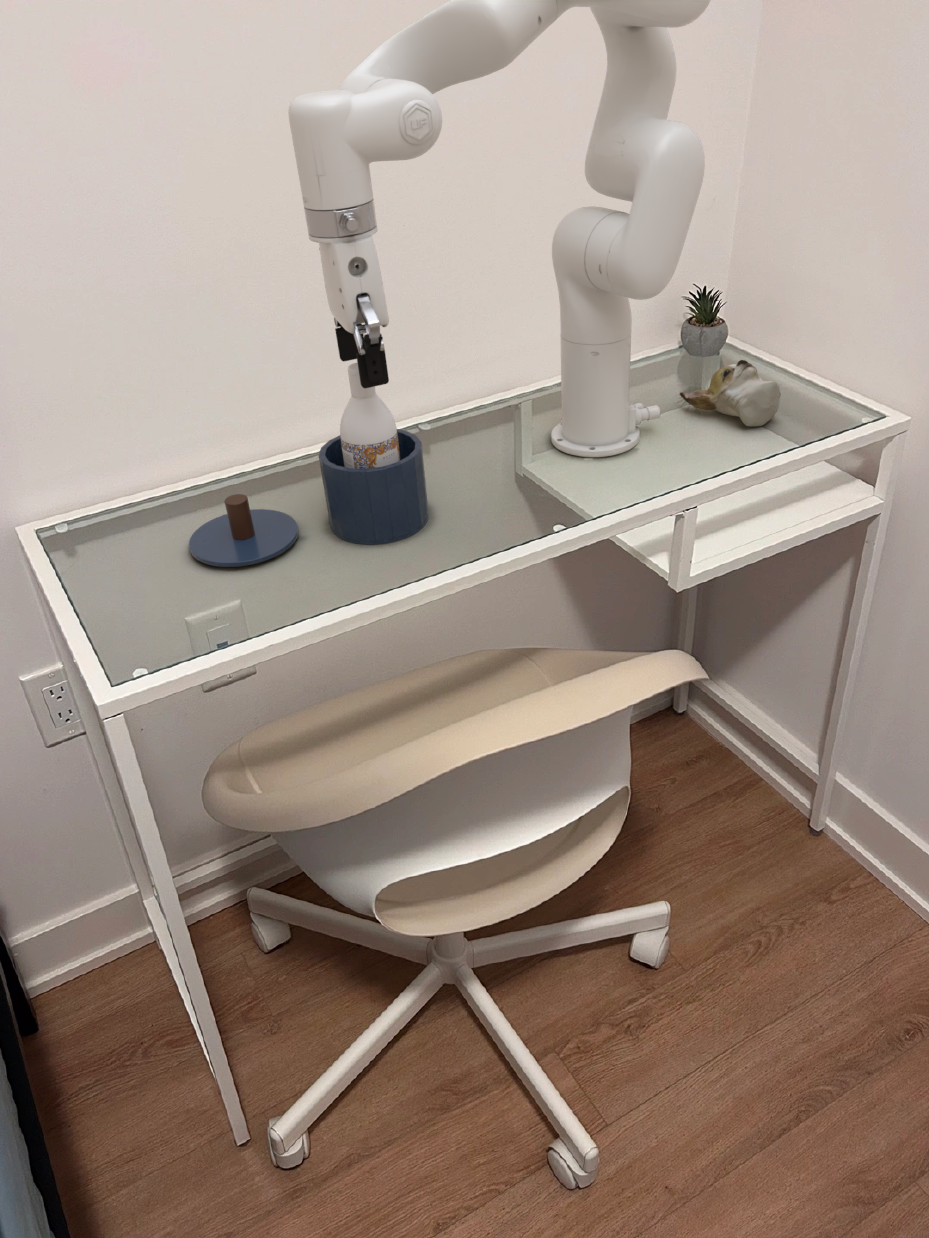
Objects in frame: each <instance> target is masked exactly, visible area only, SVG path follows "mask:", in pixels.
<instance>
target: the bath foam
mask: <svg viewBox="0 0 929 1238" xmlns="http://www.w3.org/2000/svg"><path fill="white" fill-rule="evenodd" d="M347 374H348V381H349V388H350V394H351V396H350V398H349V400H348V402H347V403H346V406H345V408H344V410H343V413H342V415H341V419H340V424H339V433H340V434H339V435H340V439H341V445H342V452H343V459H344V466H345V467H346V468H352V469H369V468H376V467H383V466H386V465H390V464H393V463H396V462H399V461H400V452H399V443H398V434H397V429H398V428H397V423H396V421H395V418H394V415H393V413H392V412H391V410H390V409H389V407H388V406H387V405H386V403H385V402H384V401H383V400H382V398H380V396H379V395H378V394H377V392H376V386H374V387H370V388H363V387H362V386H361V383H360V376H359V370H358V363H357V362H354V363H351V364H349V365H348V366H347Z"/></svg>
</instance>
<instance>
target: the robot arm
mask: <svg viewBox="0 0 929 1238" xmlns="http://www.w3.org/2000/svg"><path fill="white" fill-rule="evenodd" d="M710 3H711V0H448V1H447V2H445V3H443V4H441V5H440V6H438V7H436V8H435V9H433V10H431V11H430V12H428V13H427V14H425V15H424V16H422V17H421V18H419V19H418V20H416V21H414V22H413V23H411V24H409V25H408V26H406V27H404V28H403V29H401V30H399V31H398V32H396V33H395V34H393V35H391V37H389V38H388V39H387V40H385V41H384V42H383V43H381V44H380V45H379V46H378V47H377V48H375V50H373V51H372V52H371V53H370V54H369V55H368V56H367V57H366V58H365V59H364V60H362V61H361V62H360V63H359V64H358V65H357V66H356V67H355V68H354V69H353V70H351V71H350V73H349V74H347V76H346V77H345V78H344V79H343V80H342V81H341V82H340V85H339V86H338V88H337V89H330V90H329V89H328V90H320V91H313V92H307V93H304V94H300V95H298V96H296V97H295V98H293V99H292V100H291V102H290V104H289V106H288V122H289V126H290V133H291V134H290V135H291V139H292V145H293V151H294V157H295V162H296V168H297V169H296V170H297V175H298V180H299V185H300V192H301V197H302V203H303V210H304V218H305V222H306V228H307V234H308V239H309V240H310V241H311V242H314V243H318V246H319V247H318V249H319V254H320V261H321V269H322V275H323V276H322V277H323V282H324V288H325V291H326V292H325V294H326V298H327V302H328V307H329V311H330V312H331V313H330V314H332V316H333V320H334V321H333V322H334V325H335V328H334V331H335V337H336V343H337V348H338V349H337V350H338V355H339V359H340V360H341V362H348V361H353V360H356V363H358V370H359V376H360V383H361V386H362V387H363V388H370V387H374V386H375V387H378V386H382V385H387V384H388V383H389V382H390V379H389V377H390V376H389V370H388V364H387V356H386V349H385V343H384V341H383V339H384V337H383V335H382V333H381V327H382V328H387V327H388V326H389V323H390V318H389V313H388V306H387V301H386V293H385V289H384V283H383V277H382V271H381V267H380V262H379V258H378V257H379V256H378V253H377V249H376V245H375V241H374V238H373V236H374V235H376V233H378V231H379V230H378V223H377V216H376V214H377V213H376V208H375V200H374V193H373V185H372V176H371V169H370V164H371V163H374V162H376V163H377V162H394V161H396V162H398V161H409V160H414V159H417V158H419V157H421V156H423V155H424V154H426V153H428V152H429V151H430V150H431V149H432V148H433V146H434V145H435V144H436V142H437V141H438V139H439V137H440V134H441V131H442V128H443V127H442V126H443V114H442V110H441V106H440V104H439V102H438V100H437V98H436V97H435V95H434V94H436V93H437V92H438V93H439V92H440V91H442V90H444V89H446V88H449V87H451V86H454V85H457V84H461V83H465V82H469V81H472V80H473V81H474V80H476V79H480V78H483V77H486V76H489V75H492V74H493V73H496V72H498V71H501V70H503V69H504V68H506V67H508V66H509V65H510V64H512V62H514V61H515V59H517V58H518V57H519V56H520V55H521V54H522V53H523V52H524V51H525V50H526V49H527V48H528V47H529V46H530V45H531V44H532V43H533V42H534V41H535V40H536V39H537V38H538V37H539V36H541V35H542V34H543V33H544V32H545V31H546V30H547V29H548V28H549V27H550V26H551V25H552V24H554V23H555V22H556V21H557V20H558V19H559V18H560V17H561V16H562V15H563V14H564V13H566V12H567V11H568V10H570V9H572V8H589V9H590V11H591V13H592V15H593V17H594V19H595V22H596V23H597V25H598V27H599V30H600V33H601V35H602V38H603V43H604V45H605V51H606V63H607V64H606V73H605V79H604V82H603V88H602V91H601V96H600V100H599V103H598V107H597V111H596V115H595V119H594V123H593V127H592V130H591V134H590V138H589V142H588V147H587V151H586V155H585V161H584V176H585V180H586V182H587V184H588V185H589V186H590V188H591V189H592V190H593V191H595V192H597V193H598V194H599V195H600V194H601V195H603V196H606V197H609V198H612V199H616V200H621V201H625V202H630V203H631V206H630V210H629V213H627V212H624V211H621V210H616V209H612V208H607V207H602V206H583V207H579V208H576V209H574V210H572V211H570V212H568V213H567V214H566V215H564V216H563V218H561V220H560V221H559V223H558V224H557V226H556V228H555V231H554V234H553V237H552V243H551V258H552V260H551V261H552V265H553V271H554V275H555V281H556V286H557V291H558V299H559V300H558V301H559V317H560V319H559V321H560V389H561V391H560V393H561V395H560V396H561V401H560V403H561V404H560V405H561V422H559V423H558V424H557V425H555V426H554V427H553V428H552V429H551V432H550V442H551V444H552V445H553V446H554V447H555V448H556V449H557V450H559V451H561V452H563V453H565V454H568V455H571V456H575V457H576V456H577V457H583V458H607V457H611V456H617V455H620V454H623V453H625V452H628V451H630V450H631V449H633V448H635V447H636V446H637V444H638V443H639V442H640V429H639V428H638V426H639V425H641V423H642V422H644V421H652V420H656V419H659V418H660V417H661V409H660V407H659V405H658V404H654V405H650V406H649V405H648V406H644V404H643V402H637V403H633V404H630V395H631V394H630V392H631V391H630V390H631V359H632V358H631V356H632V354H631V353H632V351H631V350H632V326H633V325H632V323H633V322H632V309H631V303H630V300H629V299H631V300H632V299H633V300H638V301H642V300H643V301H644V300H645V301H646V300H649V299H652V298H654V297H656V296H658V295H659V294H661V292H663V291H664V290H665V288H667V286H668V285H669V283H670V282H671V280H672V278H673V276H674V274H675V272H676V270H677V267H678V264H679V262H680V259H681V255H682V252H683V249H684V246H685V243H686V239H687V236H688V233H689V229H690V226H691V223H692V219H693V216H694V213H695V209H696V207H697V203H698V200H699V196H700V192H701V188H702V185H703V183H704V182H703V181H704V177H705V176H704V175H705V168H706V167H705V165H706V164H705V163H706V162H705V150H704V146H703V143H702V139H700V137H699V134H698V133H697V132H696V131H695V130H694V129H693V128H692V127H691V126H689V125H688V124H686V123H683V122H680V121H676V120H671V119H668V116H669V113H670V112H669V111H670V107H671V102H672V99H673V94H674V90H675V86H676V80H677V58H676V57H677V56H676V53H675V48H674V45H673V41H672V37H671V36H670V33H669V30H668V29H669V28H670V29H671V28H672V29H673V28H674V29H675V28H681V27H685V26H687V25H690V24H692V23H693V22H695V21H696V20H697V19H699V18H700V16H702V14H704V12H705V11H706V10H707V8H708V6H709V4H710Z"/></svg>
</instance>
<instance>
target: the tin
mask: <svg viewBox="0 0 929 1238" xmlns="http://www.w3.org/2000/svg"><path fill="white" fill-rule="evenodd" d="M397 434H398V443H399V452H400V461H399V462H396V463H393V464H390V465H386V466H383V467H376V468H369V469H352V468H346V467H345V466H344V459H343V452H342V445H341V439H340V434H339V435H338V436H335V437H333V438H331V439H329V440H328V441H327V442H326V443H325V444H324V445H322V446H321V447H320V449H319V453H318V461H319V466H320V473H321V479H322V485H323V486H322V487H323V491H324V497H325V504H326V509H327V516H328V522H329V525H330V529H331V531H332V533H333V534H334V535H335V536H336V537H338V538H339V539H341V540H343V541H345V542H348V543H352V544H357V545H369V546H373V545H374V546H375V545H384V544H389V543H395V542H399V541H402V540H404V539H407V538H409V537H411V536H413V535H415V534H417V533H419V531H421V530H422V529H423V528H424V527H425V526H426V524H427V523H428V520H429V504H428V492H427V482H426V481H427V480H426V473H425V462H424V461H425V460H424V454H423V452H424V451H423V442H422V440H421V439H420V438H419V437H418V436H417V435H416V434H414V433H412V432H411V431H408V430H404V429H399V428H397Z"/></svg>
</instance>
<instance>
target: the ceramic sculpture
mask: <svg viewBox="0 0 929 1238" xmlns="http://www.w3.org/2000/svg"><path fill="white" fill-rule="evenodd" d="M781 395H782V393H781V388H780V385H779V383H778V382H777V381H775V380H769V381H766V380H763V379H762V377H761V376H760V374H759V372H758V368H757V367H756V366H755V365H754V364H752V363H750V362H749V361H747V360H745V359H740V360H738V361H737V363H733V364H732V363H731V364H729V365H725V366H722V367H720V368H719V369H717V370H716V371H715V372H714V374H713V375H712V377H711V378H710V383H709V387H708V388H707V389H696V390H694V391H691V392H682V391H681V392H679V396H681V398H682V399H683V400H684V401H685V402H686V403H688V404H689V405H691V406H692V407H694V408H696V409H698V410H703V411H717V412H719V413H721V414H722V415H726V416H731V417H739V419H740V421H741V422H742V424H744V425H745V426H746V427H761V426H764V425H765V424H767V423H768V422H769V421H770V420H772V419H773V418H774V417H775V415H776V413H777V412H778V410H779V407H780V401H781Z"/></svg>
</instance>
